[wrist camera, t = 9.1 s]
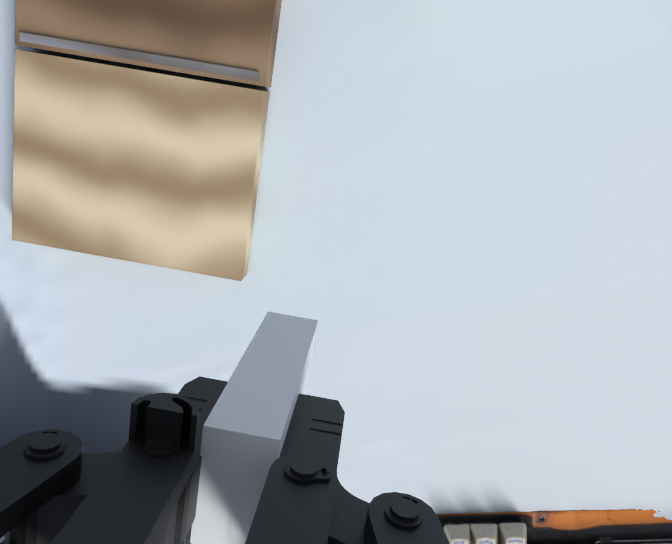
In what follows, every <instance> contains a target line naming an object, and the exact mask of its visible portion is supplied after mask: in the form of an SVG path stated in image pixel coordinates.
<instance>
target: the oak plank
mask: <svg viewBox="0 0 672 544" xmlns="http://www.w3.org/2000/svg"><path fill="white" fill-rule="evenodd" d="M269 93H270V92H268V91H262V90H256V89H250V88H244V87H238V86H232V85H226V84H220V83H214V82H208V81H202V80H196V79H191V78H185V77H179V76H173V75H167V74H161V73H155V72H149V71H143V70H137V69H131V68H125V67H119V66H113V65H107V64H101V63H95V62H89V61H83V60H77V59H71V58H65V57H59V56H53V55H48V54H42V53H36V52H30V51H23V50H16V49H15V84H14V148H13V212H12V240H15V241H21V242H26V243H32V244H37V245H43V246H49V247H54V248H60V249H65V250H71V251H76V252H82V253H88V254H93V255H99V256H104V257H110V258H116V259H121V260H127V261H132V262H138V263H143V264H149V265H155V266H160V267H166V268H171V269H177V270H182V271H188V272H194V273H199V274H205V275H210V276H216V277H221V278H227V279H233V280H238V281H241V280H242V279H243V278H244V277H245V275H246V274H247V268H248V260H249V252H250V244H251V236H252V228H253V220H254V212H255V204H256V196H257V188H258V180H259V172H260V164H261V156H262V149H263V141H264V133H265V125H266V117H267V109H268V101H269Z"/></svg>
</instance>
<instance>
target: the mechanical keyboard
mask: <svg viewBox="0 0 672 544" xmlns="http://www.w3.org/2000/svg"><path fill="white" fill-rule="evenodd" d="M658 512H660V511H658ZM654 513H656V511H654V510H641V509H639V510H636V509H628V510H575V511H573V510H570V511H534V512H498V513H467V514H466V513H465V514H437V516H438V518H439V521H440V523H441V525H442V527H443V529H444V532H445V534H446V536H447V538H448V540H449V543H450V544H672V521H670V520H667V519H665V518H664V517H661V518H660V517H657V518H656V517H654V516H653V514H654ZM540 517H543V518H542V519H540Z"/></svg>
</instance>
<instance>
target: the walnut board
mask: <svg viewBox="0 0 672 544" xmlns="http://www.w3.org/2000/svg"><path fill="white" fill-rule="evenodd" d="M281 1H282V0H16V6H15V45H19V46H25V47H31V48H37V49H43V50H49V51H55V52H61V53H67V54H73V55H79V56H85V57H91V58H97V59H103V60H109V61H115V62H121V63H127V64H133V65H139V66H144V67H150V68H156V69H162V70H168V71H174V72H180V73H186V74H192V75H198V76H204V77H210V78H216V79H222V80H228V81H234V82H240V83H246V84H252V85H258V86H264V87H271V81H272V73H273V65H274V57H275V49H276V41H277V33H278V25H279V17H280V9H281Z"/></svg>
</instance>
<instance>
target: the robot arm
mask: <svg viewBox="0 0 672 544" xmlns="http://www.w3.org/2000/svg"><path fill="white" fill-rule="evenodd" d="M317 325H318V321H317V320H312V319H306V318H301V317H295V316H290V315H284V314H279V313H273V312H268V313H267V315H266V316H265V318H264V320H263V322H262V323H261V325H260V327H259V329H258V330H257V332H256V334H255V336H254V337H253V339H252V341H251V343H250V344H249V346H248V348H247V350H246V352H245V353H244V355H243V357H242V359H241V360H240V362H239V364H238V366H237V367H236V369H235V371H234V373H233V374H232V376H231V378H230V380H229V381H228V382H226V381H221V380H215V379H210V378H205V377H198V378H196V379H194V380H192V381H190V382H188V383H186V384H185V385H184V386H183V388H182V389H181V390H180V392H179V393H178V394H170V393H157V394H149V395H146V396H144V397H140V398H138V399H137V400H136V401H134V402H133V403H132V404H131V416H130V430H129V441H128V442H127V443H126V445H125V446H124V447H123V449H122V450H121V451H117V452H108V453H83V443H82V442H81V440H80V438H79V437H77V436H76V435H74V434H72V433H70V432H66V431H61V430H53V429H52V430H50V429H48V430H41V431H35V432H31V433H28V434H25V435H23V436H21V437H18V438H16V439H15V440H13V441H11V442H9V443H8V444H6V445H4V446H3V447H1V448H0V538H1V537H2V536H4V535H5V540H4V541H3V542H1V543H0V544H185V538H186V536H187V534H188V532H189V530H190V528H191V525H192V531H191V541H190V543H192V544H450V543H449V540H448V538H447V536H446V534H445V532H444V529H443V527H442V525H441V523H440V521H439V518H438V516H437V515H436V513H435V512H434V511H433V509H432V508H431V507H430V506H429V505H427V504H426V503H425V502H423V501H422V500H420V499H418V498H416V497H413V496H411V495H408V494H403V493H397V492H392V493H383V494H381V495H379V496H377V497H374V498H373V500H372V501H371V503H367V502H365V501H363V500H361V499H359V498H357V497H355V496H353V495H352V494H350V493H349V492H348V491H346V490H345V489H344V488H343V486H342V485H341V484H340V482H339V480H338V478H337V464H338V457H339V450H340V443H341V435H342V429H343V421H344V414H345V412H344V410H343V409H342V407H341V405H340V403H339V402H338V401H337V400H331V399H326V398H321V397H315V396H310V395H306V393H307V387H308V381H309V374H310V368H311V362H312V356H313V350H314V344H315V337H316V331H317Z"/></svg>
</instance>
